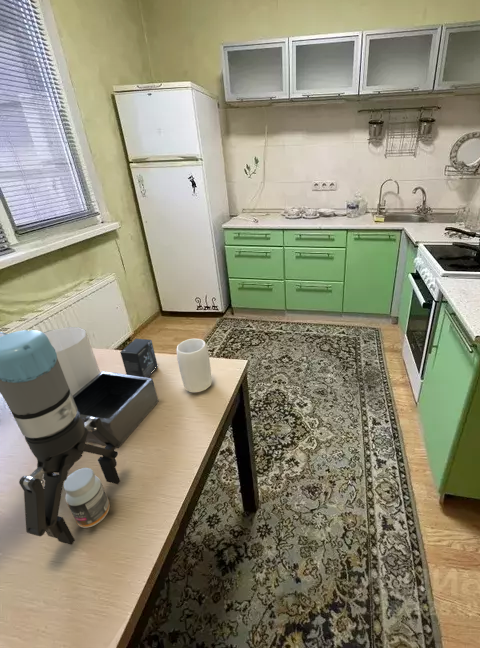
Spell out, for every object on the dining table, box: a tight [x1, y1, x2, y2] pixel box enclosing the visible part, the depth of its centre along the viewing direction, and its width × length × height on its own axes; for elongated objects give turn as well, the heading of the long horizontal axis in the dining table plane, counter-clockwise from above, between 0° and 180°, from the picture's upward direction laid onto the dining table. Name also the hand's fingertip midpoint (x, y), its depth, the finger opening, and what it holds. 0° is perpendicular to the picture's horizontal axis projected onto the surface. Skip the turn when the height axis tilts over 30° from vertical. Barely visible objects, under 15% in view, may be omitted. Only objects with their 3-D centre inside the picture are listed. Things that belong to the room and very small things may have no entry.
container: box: [43, 326, 101, 396], centre depth 90 cm, size 14×14×18 cm
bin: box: [73, 370, 159, 449], centre depth 83 cm, size 16×16×8 cm
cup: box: [176, 338, 213, 393], centre depth 92 cm, size 8×8×14 cm
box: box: [120, 338, 159, 378], centre depth 99 cm, size 8×6×11 cm
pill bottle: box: [63, 467, 111, 529], centre depth 60 cm, size 6×6×10 cm
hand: (92, 508), depth 61 cm, fingers open, 11 cm apart
